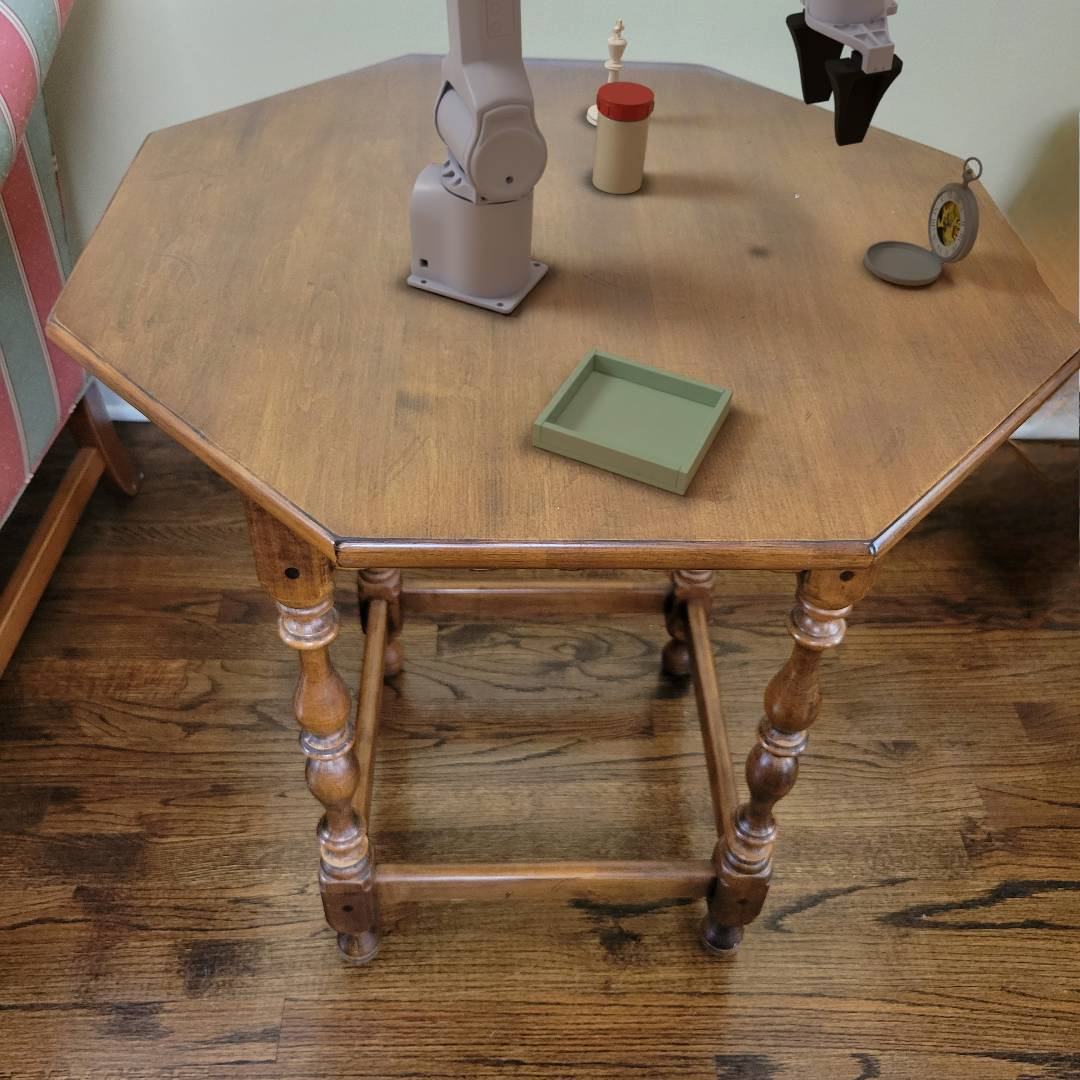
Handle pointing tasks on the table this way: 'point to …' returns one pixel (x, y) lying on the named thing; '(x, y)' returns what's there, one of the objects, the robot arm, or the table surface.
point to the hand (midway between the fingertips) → (832, 121)
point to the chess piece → (611, 64)
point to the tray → (633, 420)
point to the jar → (619, 154)
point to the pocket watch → (932, 238)
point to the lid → (625, 101)
